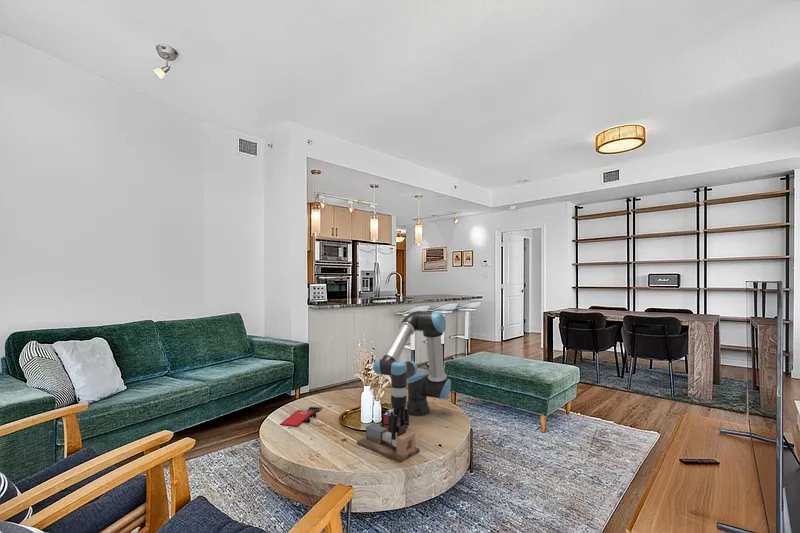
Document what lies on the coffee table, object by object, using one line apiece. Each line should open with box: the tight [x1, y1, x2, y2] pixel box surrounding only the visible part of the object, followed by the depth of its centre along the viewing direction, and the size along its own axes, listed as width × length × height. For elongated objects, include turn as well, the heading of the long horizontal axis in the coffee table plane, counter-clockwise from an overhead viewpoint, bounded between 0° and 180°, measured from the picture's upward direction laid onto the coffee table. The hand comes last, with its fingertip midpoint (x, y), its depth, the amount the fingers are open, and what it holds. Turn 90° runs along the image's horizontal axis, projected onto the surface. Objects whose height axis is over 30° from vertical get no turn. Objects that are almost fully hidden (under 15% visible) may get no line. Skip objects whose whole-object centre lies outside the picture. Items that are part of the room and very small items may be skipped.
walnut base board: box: [356, 436, 420, 464], centre depth 188 cm, size 14×29×2 cm, turn 49°
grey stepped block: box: [365, 423, 387, 445], centre depth 194 cm, size 5×10×6 cm, turn 49°
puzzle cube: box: [382, 408, 400, 433], centre depth 209 cm, size 10×10×10 cm
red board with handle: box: [278, 406, 323, 428], centre depth 230 cm, size 30×3×15 cm
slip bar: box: [381, 422, 409, 448], centre depth 186 cm, size 5×18×10 cm, turn 49°
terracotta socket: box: [396, 430, 416, 457], centre depth 181 cm, size 9×4×8 cm, turn 139°
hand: (398, 443), depth 184 cm, fingers closed on slip bar, 5 cm apart
